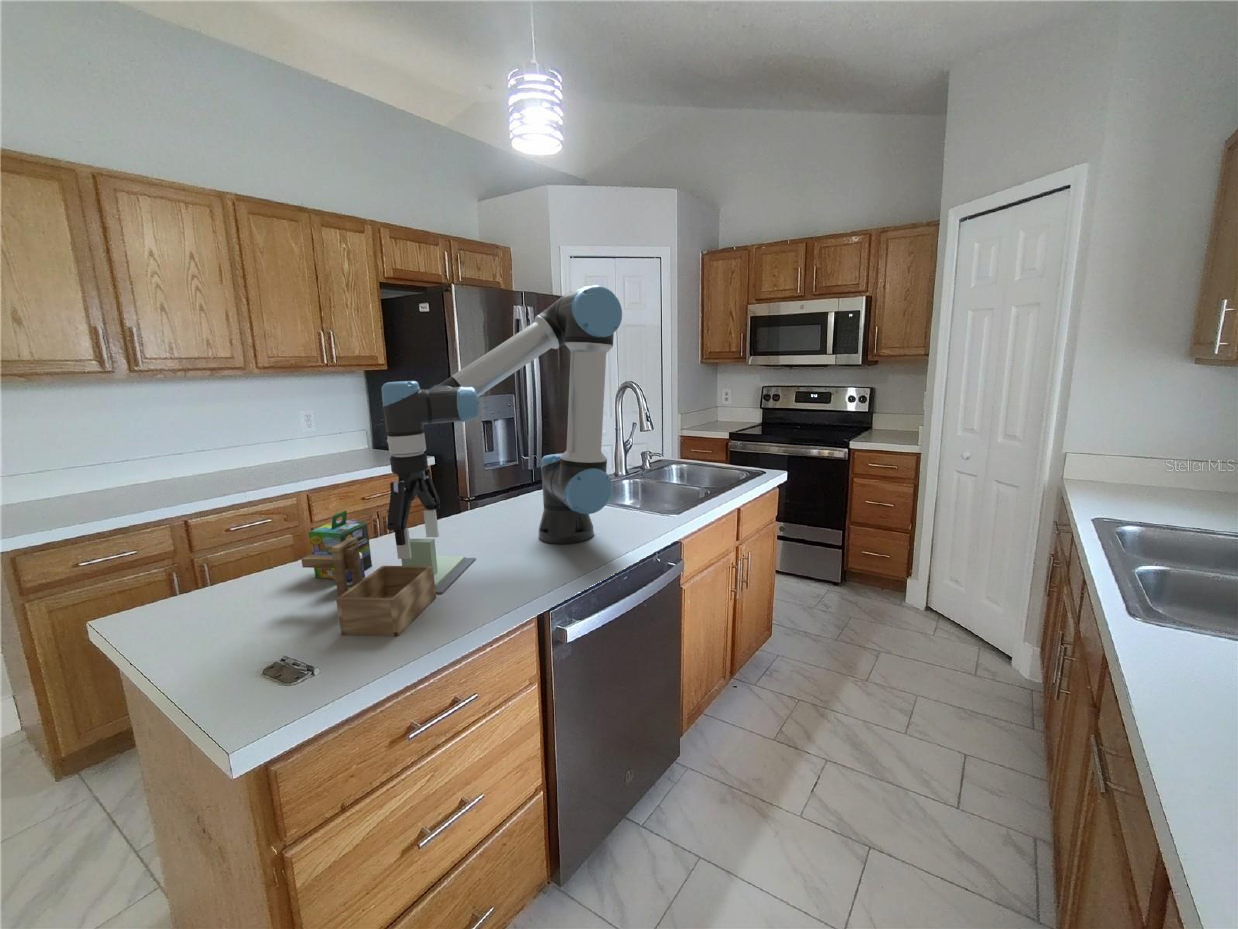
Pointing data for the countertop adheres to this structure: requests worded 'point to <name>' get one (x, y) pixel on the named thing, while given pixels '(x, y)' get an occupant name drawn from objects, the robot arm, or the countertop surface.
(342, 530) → the chalk box
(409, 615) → the wooden storage box
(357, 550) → the brown wooden bar
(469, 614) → the countertop surface
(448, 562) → the lid
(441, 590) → the mat
